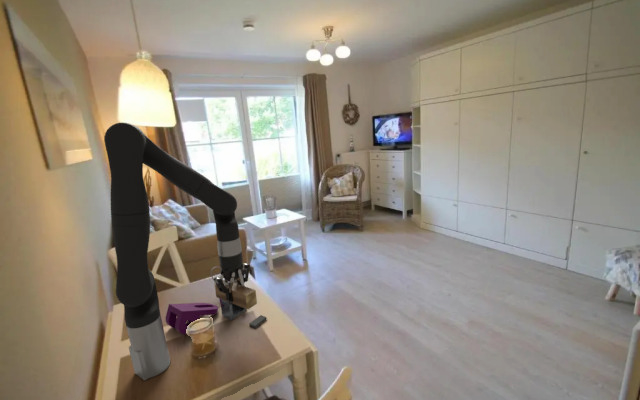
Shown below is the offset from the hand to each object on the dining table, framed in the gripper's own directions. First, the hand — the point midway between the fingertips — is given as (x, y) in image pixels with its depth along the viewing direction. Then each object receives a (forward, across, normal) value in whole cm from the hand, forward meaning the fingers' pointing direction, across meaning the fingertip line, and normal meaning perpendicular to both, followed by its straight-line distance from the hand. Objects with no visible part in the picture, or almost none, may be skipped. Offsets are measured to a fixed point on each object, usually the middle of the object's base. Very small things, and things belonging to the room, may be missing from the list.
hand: (235, 297), depth 106 cm
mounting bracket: (+16, -1, +24) cm, 29 cm away
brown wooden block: (+1, 0, 0) cm, 1 cm away
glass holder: (+16, +20, +30) cm, 39 cm away
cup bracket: (+15, +9, +14) cm, 23 cm away
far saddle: (+15, +9, +1) cm, 18 cm away
